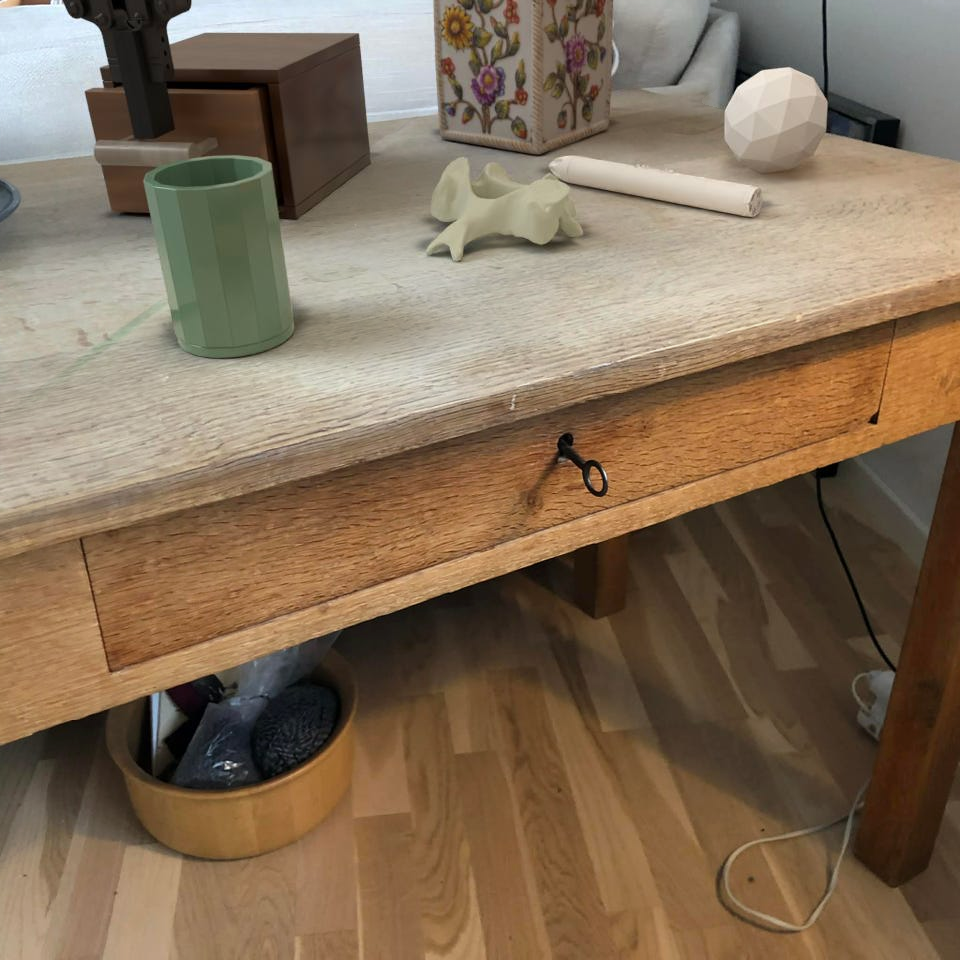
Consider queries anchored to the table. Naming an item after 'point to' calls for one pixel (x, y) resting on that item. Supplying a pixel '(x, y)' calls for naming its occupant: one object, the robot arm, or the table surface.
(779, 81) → the geometric ball
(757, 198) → the marker
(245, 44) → the cabinet
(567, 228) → the spine bone
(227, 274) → the pen cup
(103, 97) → the drawer
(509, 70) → the decorative jar
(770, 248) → the table surface
